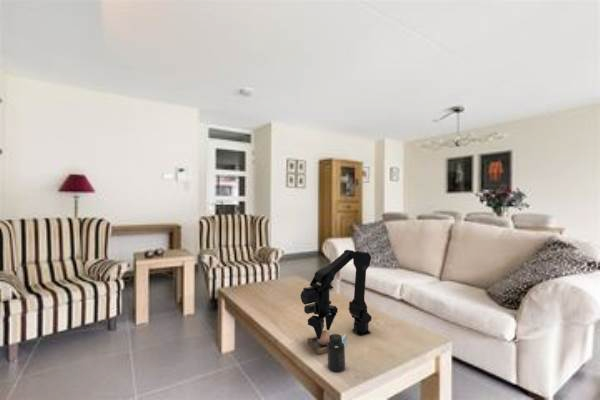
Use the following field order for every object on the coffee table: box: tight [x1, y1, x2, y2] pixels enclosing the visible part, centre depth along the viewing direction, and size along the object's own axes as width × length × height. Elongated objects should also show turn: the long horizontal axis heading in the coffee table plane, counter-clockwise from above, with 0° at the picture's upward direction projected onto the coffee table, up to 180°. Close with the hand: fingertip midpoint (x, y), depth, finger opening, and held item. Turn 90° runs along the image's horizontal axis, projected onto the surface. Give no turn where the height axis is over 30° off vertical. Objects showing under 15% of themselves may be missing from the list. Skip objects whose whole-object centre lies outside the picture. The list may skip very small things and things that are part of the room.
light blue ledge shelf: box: [342, 334, 349, 347], centre depth 122 cm, size 16×2×4 cm, turn 149°
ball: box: [317, 330, 331, 345], centre depth 126 cm, size 6×6×6 cm
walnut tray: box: [307, 335, 327, 356], centre depth 126 cm, size 11×11×2 cm
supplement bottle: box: [326, 333, 346, 373], centre depth 110 cm, size 7×7×12 cm
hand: (323, 334), depth 125 cm, fingers open, 9 cm apart
